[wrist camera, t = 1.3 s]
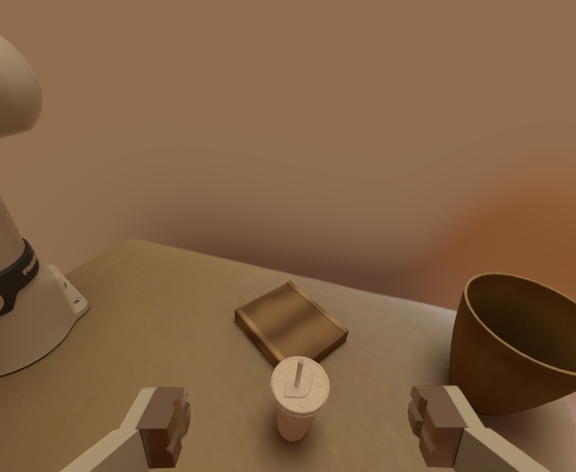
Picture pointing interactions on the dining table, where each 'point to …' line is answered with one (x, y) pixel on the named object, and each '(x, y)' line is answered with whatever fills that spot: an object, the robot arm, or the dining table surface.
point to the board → (290, 325)
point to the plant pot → (513, 344)
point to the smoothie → (298, 395)
